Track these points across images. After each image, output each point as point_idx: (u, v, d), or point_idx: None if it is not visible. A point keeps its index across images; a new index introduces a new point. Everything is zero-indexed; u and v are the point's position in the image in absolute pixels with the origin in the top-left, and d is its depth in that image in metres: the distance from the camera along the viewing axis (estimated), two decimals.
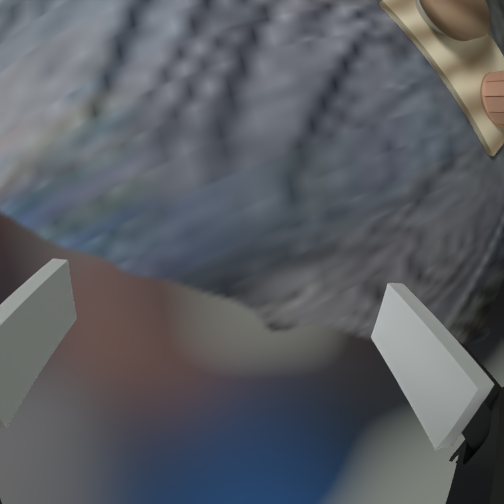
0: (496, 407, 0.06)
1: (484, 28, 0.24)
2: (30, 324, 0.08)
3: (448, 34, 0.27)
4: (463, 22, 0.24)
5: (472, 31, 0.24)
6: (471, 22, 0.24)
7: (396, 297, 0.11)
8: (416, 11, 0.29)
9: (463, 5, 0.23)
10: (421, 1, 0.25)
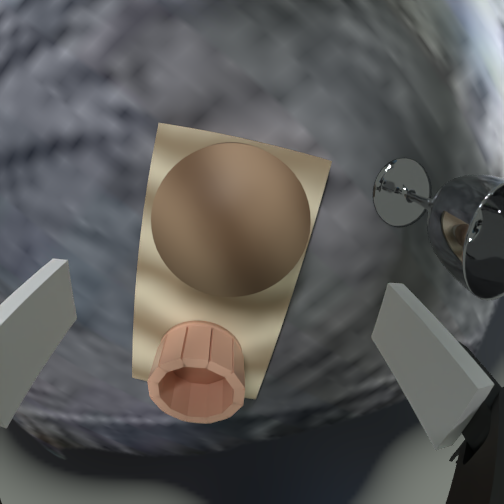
0: (496, 407, 0.06)
1: (218, 287, 0.23)
2: (30, 324, 0.08)
3: None
4: (181, 246, 0.22)
5: (184, 269, 0.23)
6: (199, 259, 0.22)
7: (396, 297, 0.11)
8: None
9: (220, 231, 0.22)
10: None
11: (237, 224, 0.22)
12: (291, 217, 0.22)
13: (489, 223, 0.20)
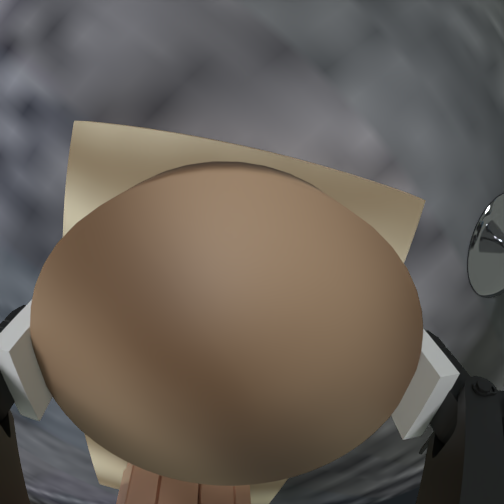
0: (462, 399, 0.06)
1: (205, 476, 0.09)
2: None
3: None
4: (114, 421, 0.08)
5: (130, 451, 0.09)
6: (157, 443, 0.08)
7: None
8: None
9: (198, 405, 0.08)
10: None
11: (241, 395, 0.08)
12: (378, 368, 0.08)
13: None
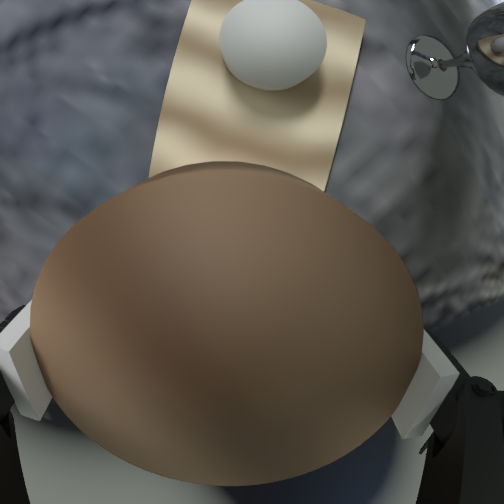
0: (462, 399, 0.06)
1: (205, 476, 0.09)
2: None
3: None
4: (114, 421, 0.08)
5: (130, 451, 0.09)
6: (157, 443, 0.08)
7: None
8: None
9: (198, 405, 0.08)
10: None
11: (241, 394, 0.08)
12: (379, 369, 0.08)
13: None
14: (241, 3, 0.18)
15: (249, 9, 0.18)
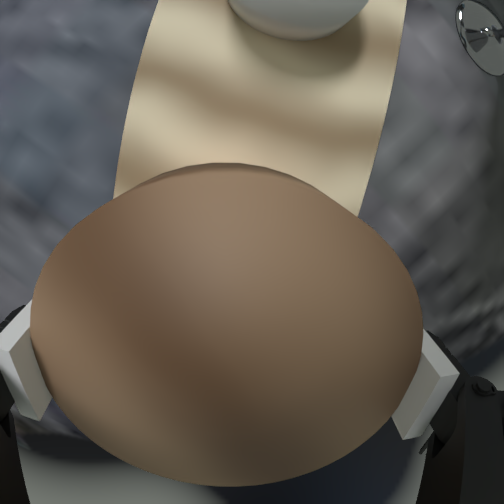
0: (461, 399, 0.06)
1: (205, 477, 0.09)
2: None
3: None
4: (114, 422, 0.08)
5: (130, 452, 0.09)
6: (157, 444, 0.08)
7: None
8: None
9: (198, 406, 0.08)
10: None
11: (241, 396, 0.08)
12: (379, 370, 0.08)
13: None
14: None
15: None
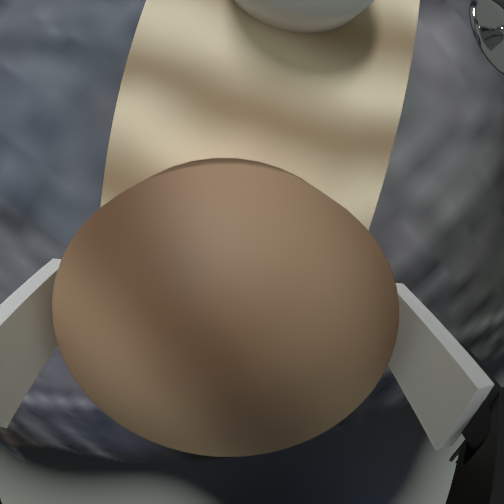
0: (495, 407, 0.06)
1: (206, 446, 0.11)
2: (30, 324, 0.08)
3: None
4: (124, 389, 0.09)
5: (137, 421, 0.10)
6: (162, 411, 0.10)
7: None
8: None
9: (201, 370, 0.09)
10: None
11: (238, 359, 0.09)
12: (360, 338, 0.09)
13: None
14: None
15: None
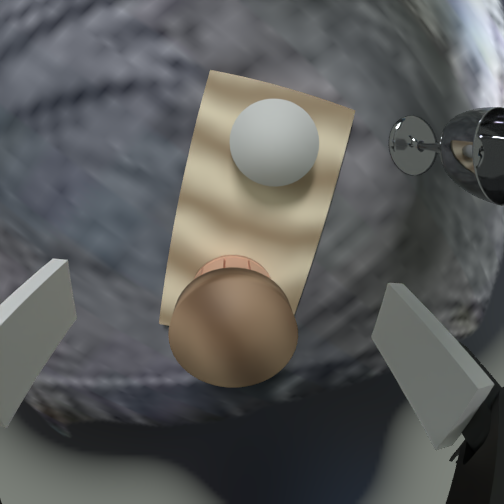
0: (495, 407, 0.06)
1: (224, 381, 0.28)
2: (30, 324, 0.08)
3: None
4: (194, 354, 0.26)
5: (196, 369, 0.27)
6: (208, 363, 0.27)
7: (396, 297, 0.11)
8: (236, 114, 0.29)
9: (225, 344, 0.26)
10: (186, 288, 0.27)
11: (238, 340, 0.26)
12: (282, 334, 0.26)
13: (489, 157, 0.23)
14: (248, 108, 0.26)
15: (255, 115, 0.26)
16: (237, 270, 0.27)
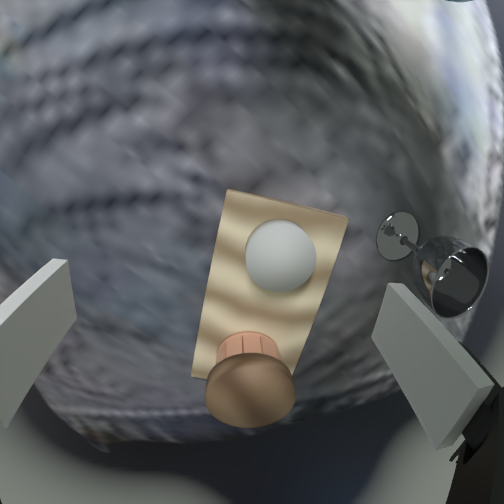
0: (496, 407, 0.06)
1: (243, 424, 0.37)
2: (30, 324, 0.08)
3: None
4: (223, 409, 0.36)
5: (224, 417, 0.37)
6: (232, 414, 0.36)
7: (396, 297, 0.11)
8: (249, 229, 0.37)
9: (245, 403, 0.36)
10: (216, 366, 0.36)
11: (254, 401, 0.36)
12: (285, 396, 0.36)
13: (456, 265, 0.31)
14: (260, 234, 0.35)
15: (265, 240, 0.35)
16: (253, 356, 0.36)
